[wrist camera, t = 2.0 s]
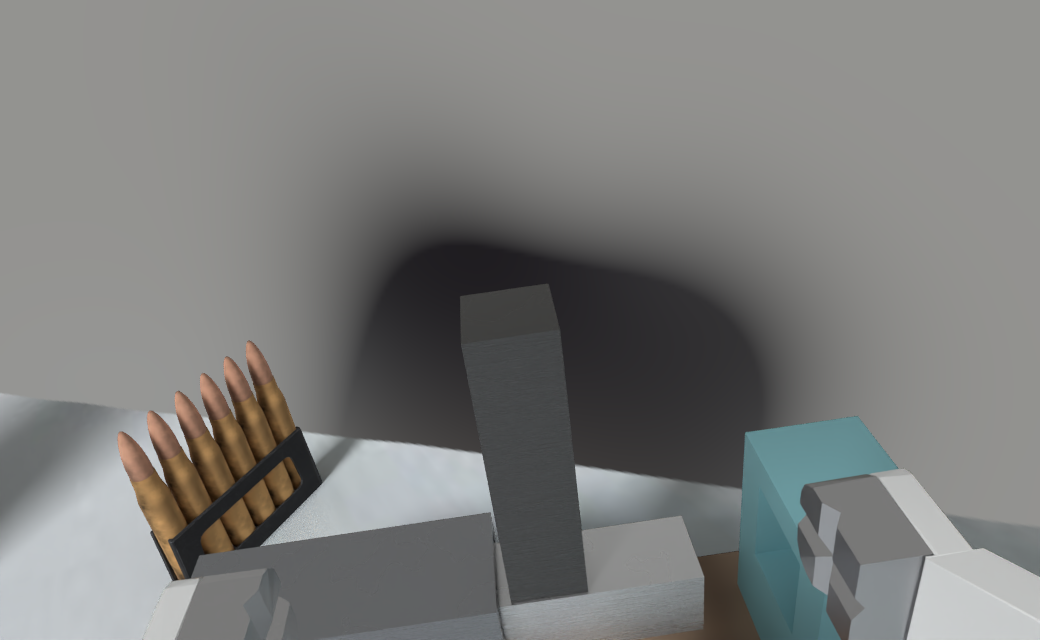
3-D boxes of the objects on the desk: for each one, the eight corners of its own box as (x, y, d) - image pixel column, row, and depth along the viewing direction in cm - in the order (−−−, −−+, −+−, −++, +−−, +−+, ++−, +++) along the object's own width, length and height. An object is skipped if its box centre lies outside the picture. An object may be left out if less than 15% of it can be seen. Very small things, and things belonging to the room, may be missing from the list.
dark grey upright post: (240, 698, 29) (78, 401, 22) (259, 629, 32) (120, 344, 24) (703, 629, 29) (708, 309, 22) (682, 566, 32) (679, 262, 24)
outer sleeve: (205, 738, 29) (158, 662, 26) (237, 629, 33) (199, 555, 31) (513, 692, 29) (496, 612, 27) (505, 589, 33) (490, 512, 31)
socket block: (802, 741, 30) (826, 581, 25) (737, 583, 37) (745, 432, 32) (921, 724, 30) (969, 560, 25) (834, 569, 37) (857, 416, 32)
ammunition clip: (303, 475, 50) (249, 330, 44) (323, 482, 49) (271, 335, 43) (178, 595, 42) (92, 439, 36) (200, 606, 42) (115, 448, 36)
